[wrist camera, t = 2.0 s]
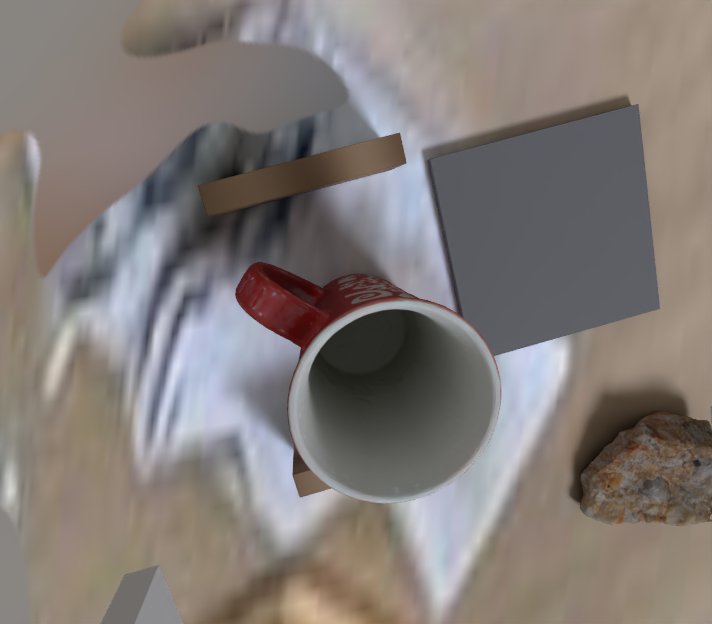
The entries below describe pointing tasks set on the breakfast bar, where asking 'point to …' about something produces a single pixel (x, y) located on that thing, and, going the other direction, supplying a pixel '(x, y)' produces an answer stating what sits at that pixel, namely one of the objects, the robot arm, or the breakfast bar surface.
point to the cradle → (297, 181)
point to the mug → (378, 382)
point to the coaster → (549, 230)
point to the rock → (653, 474)
